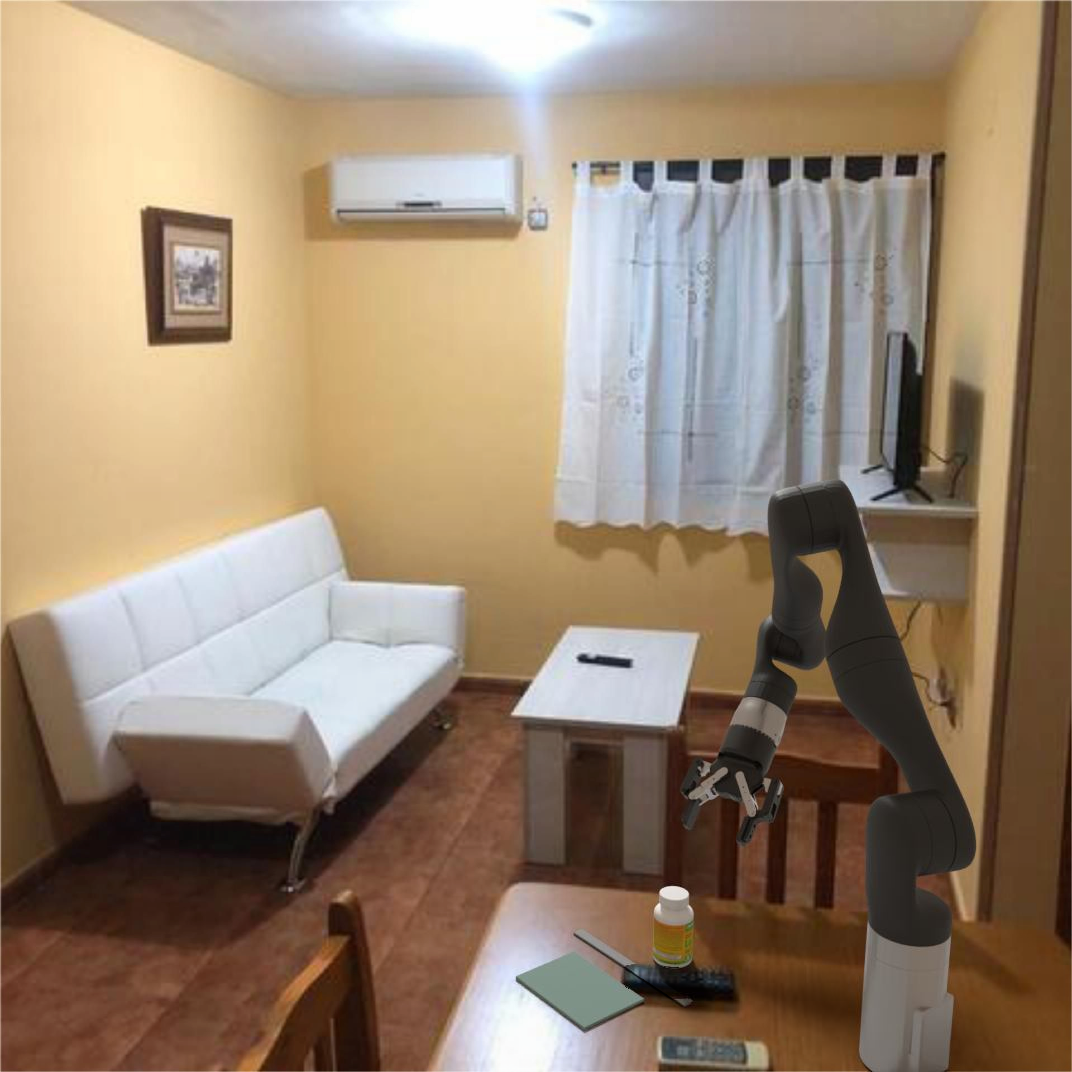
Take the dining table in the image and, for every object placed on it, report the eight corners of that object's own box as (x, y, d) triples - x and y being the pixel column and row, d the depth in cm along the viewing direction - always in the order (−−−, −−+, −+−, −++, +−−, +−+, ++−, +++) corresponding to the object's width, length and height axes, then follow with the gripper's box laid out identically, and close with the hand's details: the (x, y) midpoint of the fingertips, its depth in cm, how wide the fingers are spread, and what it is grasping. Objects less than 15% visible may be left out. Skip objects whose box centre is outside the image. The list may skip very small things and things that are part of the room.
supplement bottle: (690, 971, 155) (693, 904, 153) (650, 967, 156) (652, 900, 155) (693, 950, 161) (695, 885, 159) (654, 945, 162) (656, 881, 160)
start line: (692, 1002, 148) (692, 1000, 148) (684, 1007, 147) (684, 1004, 147) (581, 930, 165) (581, 928, 165) (573, 934, 164) (573, 932, 164)
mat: (643, 1001, 149) (643, 998, 148) (584, 1030, 143) (584, 1027, 142) (573, 954, 159) (574, 951, 159) (515, 979, 153) (515, 976, 153)
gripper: (702, 713, 172) (660, 811, 165) (791, 734, 164) (750, 838, 157) (718, 736, 177) (678, 832, 171) (805, 758, 169) (766, 860, 162)
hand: (712, 835), depth 164 cm, fingers open, 8 cm apart
